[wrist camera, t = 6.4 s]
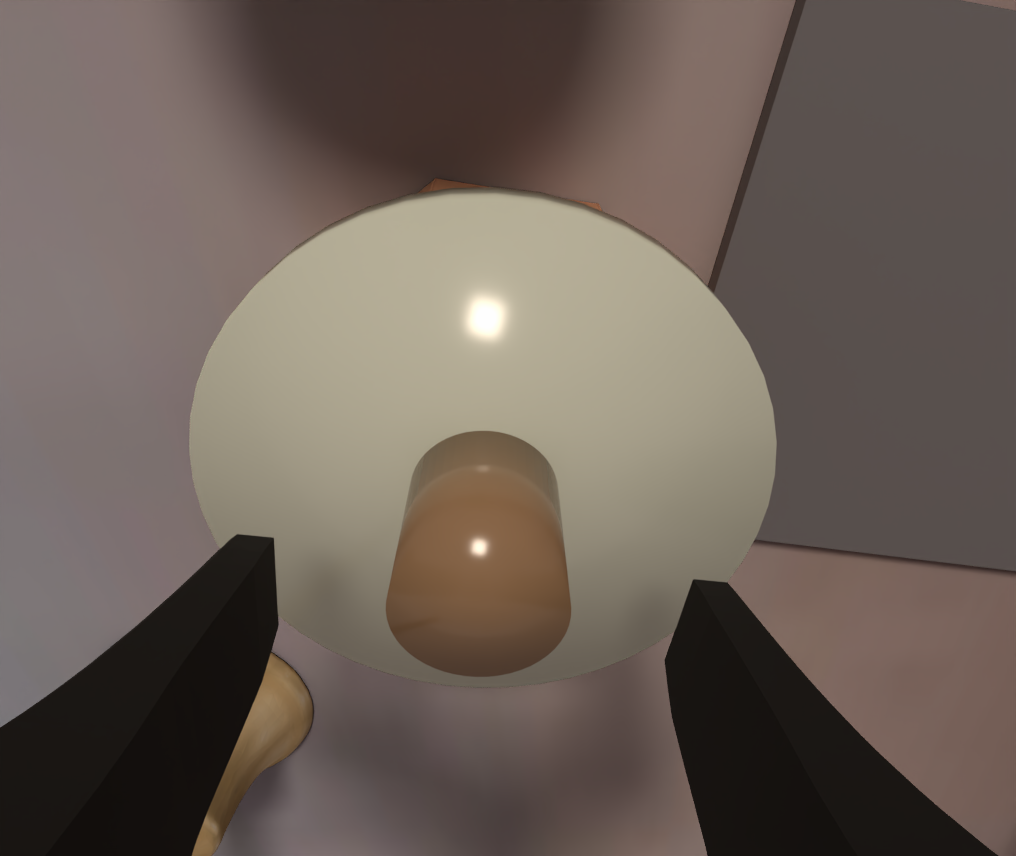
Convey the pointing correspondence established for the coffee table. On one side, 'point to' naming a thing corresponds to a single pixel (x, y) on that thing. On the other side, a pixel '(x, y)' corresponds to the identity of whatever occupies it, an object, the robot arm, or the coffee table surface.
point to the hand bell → (259, 746)
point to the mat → (885, 279)
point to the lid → (484, 437)
